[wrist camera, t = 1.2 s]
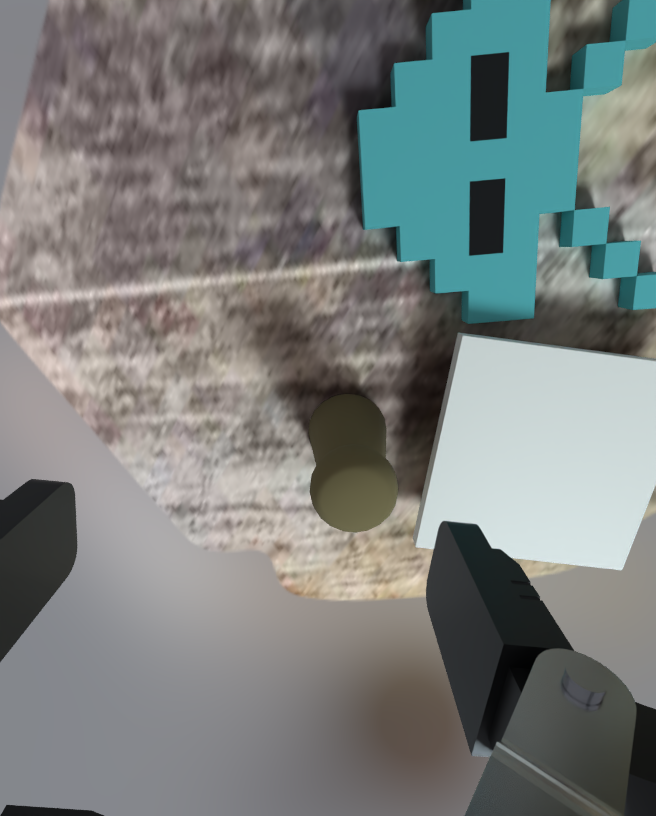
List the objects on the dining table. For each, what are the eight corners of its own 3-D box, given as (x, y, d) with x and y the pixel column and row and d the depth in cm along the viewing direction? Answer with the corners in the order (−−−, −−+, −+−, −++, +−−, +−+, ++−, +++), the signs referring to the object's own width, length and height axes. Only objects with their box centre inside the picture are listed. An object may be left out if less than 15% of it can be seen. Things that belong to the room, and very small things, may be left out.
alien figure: (688, -42, 28) (349, -8, 29) (717, -65, 26) (350, -27, 27) (645, 303, 35) (368, 326, 35) (666, 307, 32) (370, 332, 33)
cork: (293, 440, 37) (280, 516, 27) (336, 378, 36) (341, 433, 25) (357, 479, 38) (368, 566, 28) (401, 420, 37) (431, 490, 26)
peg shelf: (447, 325, 35) (462, 335, 31) (661, 354, 35) (701, 367, 31) (407, 518, 40) (415, 546, 36) (594, 539, 40) (622, 570, 37)
